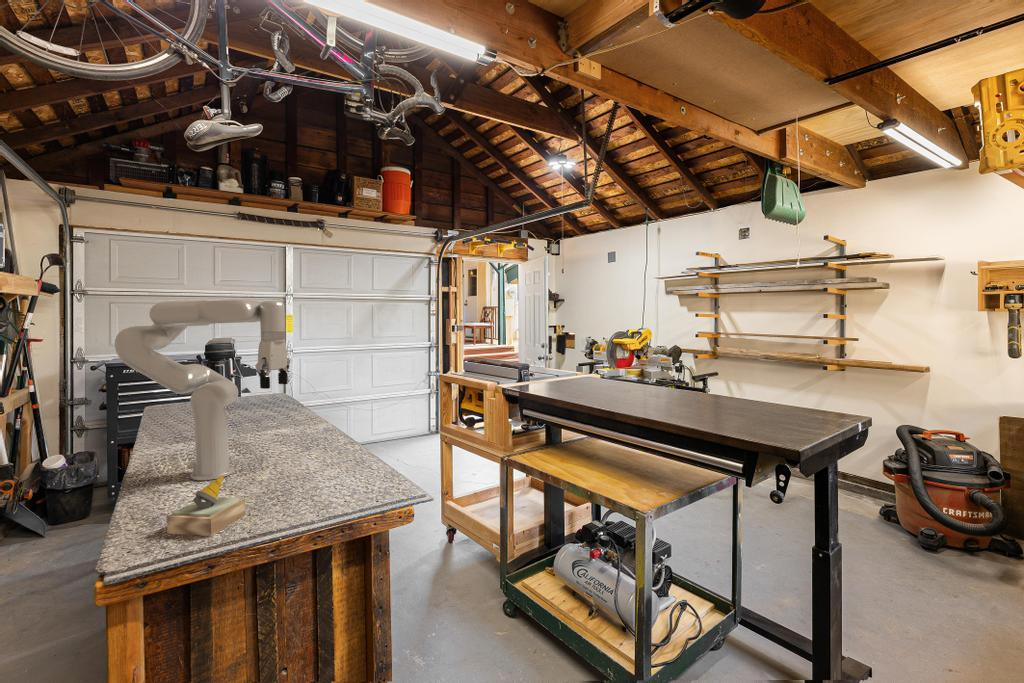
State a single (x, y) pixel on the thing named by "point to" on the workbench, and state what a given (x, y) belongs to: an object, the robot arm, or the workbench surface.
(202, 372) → the robot arm
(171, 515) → the base block
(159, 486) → the workbench surface
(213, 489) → the drill bit
